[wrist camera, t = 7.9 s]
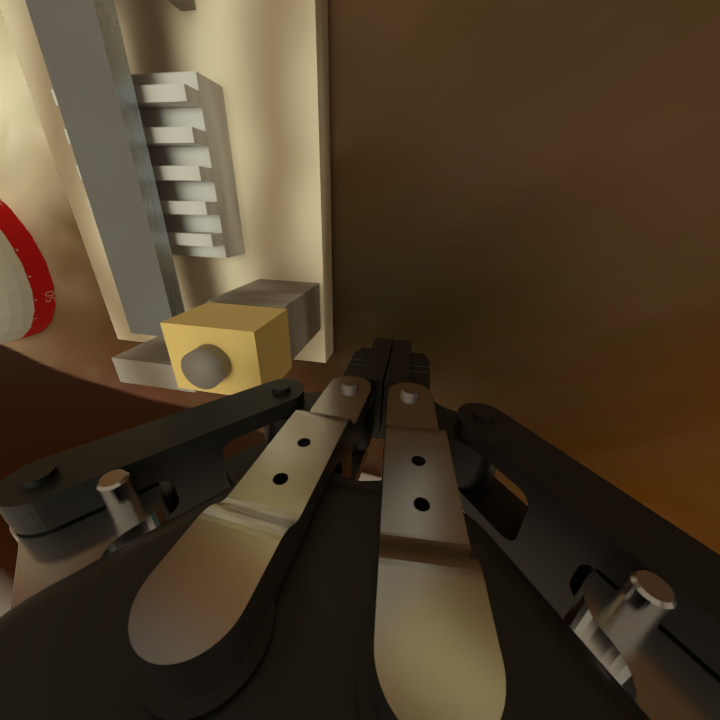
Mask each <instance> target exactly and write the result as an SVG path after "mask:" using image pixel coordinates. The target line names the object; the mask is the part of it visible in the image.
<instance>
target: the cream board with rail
mask: <svg viewBox="0 0 720 720" xmlns="http://www.w3.org/2000/svg"><path fill="white" fill-rule="evenodd" d="M114 2H115V7H116V11H117V15H118V20H119V24H120V29H121V33H122V37H123V42H124V46H125V50H126V55H127V59H128V64H129V68H130V72H131V77H132V81H133V85H134V90H135V94H136V99H137V103H138V107H139V112H140V116H141V120H142V125H143V129H144V134H145V138H146V142H147V147H148V151H149V156H150V160H151V164H152V169H153V173H154V177H155V182H156V186H157V191H158V195H159V199H160V204H161V208H162V212H163V217H164V221H165V226H166V230H167V234H168V239H169V243H170V248H171V252H172V256H173V261H174V265H175V269H176V274H177V278H178V283H179V287H180V291H181V296H182V300H183V304H184V309H185V312H186V311H188V310H191V309H193V308H196V307H198V306H200V305H203V304H205V303H207V302H213V303H224V304H236V305H247V306H259V307H271V308H282V309H287V316H288V327H289V339H290V351H291V362H292V360H293V359H296V360H305V361H313V362H322V363H326V362H327V360H328V359H329V357H330V356H331V354H332V353H333V293H332V231H331V169H330V108H329V46H328V0H114ZM0 9H1V11H2V14H3V17H4V20H5V23H6V25H7V28H8V31H9V34H10V37H11V39H12V42H13V45H14V48H15V51H16V54H17V56H18V59H19V62H20V65H21V68H22V70H23V73H24V76H25V79H26V82H27V84H28V87H29V90H30V93H31V96H32V98H33V101H34V104H35V107H36V110H37V113H38V115H39V118H40V121H41V124H42V127H43V129H44V132H45V135H46V138H47V141H48V143H49V146H50V149H51V152H52V155H53V157H54V160H55V163H56V166H57V169H58V171H59V174H60V177H61V180H62V183H63V186H64V188H65V191H66V194H67V197H68V200H69V202H70V205H71V208H72V211H73V214H74V216H75V219H76V222H77V225H78V228H79V230H80V233H81V236H82V239H83V242H84V245H85V247H86V250H87V253H88V256H89V259H90V261H91V264H92V267H93V270H94V273H95V275H96V278H97V281H98V284H99V287H100V289H101V292H102V295H103V298H104V301H105V304H106V306H107V309H108V312H109V315H110V318H111V320H112V323H113V326H114V329H115V332H116V334H117V337H118V339H121V340H130V341H139V342H144V343H142V344H140V345H138V346H136V347H133V348H131V349H129V350H127V351H125V352H123V353H121V354H118V355H116V356H114V357H112V360H113V363H114V365H115V368H116V371H117V373H118V376H119V379H120V381H121V382H125V383H133V384H140V385H147V386H154V387H161V388H168V389H175V390H182V391H189V392H197V390H190V389H183V388H178V385H177V381H176V378H175V374H174V371H173V367H172V364H171V360H170V356H169V353H168V349H167V346H166V342H165V339H164V337H161V336H152V335H143V334H134V333H131V332H130V329H129V325H128V322H127V319H126V316H125V313H124V310H123V307H122V303H121V300H120V297H119V294H118V291H117V288H116V285H115V281H114V278H113V275H112V272H111V269H110V266H109V262H108V259H107V256H106V253H105V250H104V247H103V244H102V240H101V237H100V234H99V231H98V228H97V225H96V222H95V218H94V215H93V212H92V209H91V206H90V203H89V200H88V196H87V193H86V190H85V187H84V184H83V181H82V178H81V174H80V171H79V168H78V165H77V162H76V159H75V155H74V152H73V149H72V146H71V143H70V140H69V137H68V133H67V130H66V127H65V124H64V121H63V118H62V115H61V111H60V108H59V105H58V102H57V99H56V96H55V93H54V89H53V86H52V83H51V80H50V77H49V74H48V70H47V67H46V64H45V61H44V58H43V55H42V52H41V48H40V45H39V42H38V39H37V36H36V33H35V30H34V26H33V23H32V20H31V17H30V14H29V11H28V8H27V4H26V1H25V0H0Z"/></svg>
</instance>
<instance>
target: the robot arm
mask: <svg viewBox="0 0 720 720" xmlns="http://www.w3.org/2000/svg"><path fill="white" fill-rule="evenodd" d="M411 346H412V341H403V340H394V344H393V339H382V338H376V339H375V341H374V344H373V346H372V349H370V348H361V349H359V350H358V351H356V352H355V353H354V355H353V357H352V359H351V361H350V363H349V365H348V367H347V369H346V371H345V373H344V375H343V376H342V377H338V378H336V379H334V380H332V381H331V382H330V383H329V385H328V386H327V387H326V389H325V390H324V391H323V392H314V393H304V387H303V385H302V384H301V383H300V382H298V381H296V380H292V379H278V380H273V381H270V382H267V383H264V384H261V385H258V386H255V387H252V388H249V389H247V390H244V391H241V392H238V393H235V394H232V395H229V396H226V397H223V398H220V399H217V400H214V401H211V402H208V403H205V404H202V405H199V406H196V407H193V408H190V409H187V410H185V411H182V412H179V413H176V414H173V415H170V416H167V417H164V418H161V419H158V420H155V421H152V422H149V423H146V424H143V425H140V426H138V427H134V428H131V429H128V430H125V431H122V432H119V433H117V434H114V435H111V436H108V437H105V438H102V439H99V440H96V441H93V442H90V443H87V444H84V445H81V446H78V447H75V448H72V449H69V450H66V451H63V452H60V453H58V454H55V455H51V456H49V457H46V458H43V459H40V460H37V461H34V462H32V463H30V464H28V465H26V466H24V467H22V468H20V469H18V470H16V471H15V472H13V473H12V474H10V475H9V476H7V477H6V478H5V479H4V480H2V481H1V482H0V514H1V515H2V516H3V518H4V519H5V521H6V522H7V523H8V524H9V526H10V532H11V533H12V535H13V536H14V538H15V539H16V540H17V542H18V543H19V547H18V555H17V564H16V573H15V581H14V588H13V597H12V605H11V610H10V611H8V612H7V613H5V614H4V615H3V616H1V617H0V720H720V555H719V554H717V553H716V552H714V551H713V550H711V549H709V548H708V547H706V546H705V545H703V544H702V543H700V542H699V541H697V540H696V539H694V538H693V537H691V536H690V535H688V534H687V533H685V532H684V531H682V530H681V529H679V528H678V527H676V526H675V525H673V524H671V523H670V522H668V521H667V520H665V519H664V518H662V517H661V516H659V515H658V514H656V513H655V512H653V511H652V510H650V509H649V508H647V507H646V506H644V505H643V504H641V503H640V502H638V501H636V500H635V499H633V498H632V497H630V496H629V495H627V494H626V493H624V492H623V491H621V490H620V489H618V488H617V487H615V486H614V485H612V484H611V483H609V482H608V481H606V480H605V479H603V478H601V477H600V476H598V475H597V474H595V473H594V472H592V471H591V470H589V469H588V468H586V467H585V466H583V465H582V464H580V463H579V462H577V461H576V460H574V459H573V458H571V457H570V456H568V455H566V454H565V453H563V452H562V451H560V450H559V449H557V448H556V447H554V446H553V445H551V444H550V443H548V442H547V441H545V440H544V439H542V438H541V437H539V436H538V435H536V434H535V433H533V432H531V431H530V430H528V429H527V428H525V427H524V426H522V425H521V424H519V423H518V422H516V421H515V420H513V419H512V418H510V417H509V416H507V415H506V414H504V413H503V412H501V411H499V410H498V409H496V408H494V407H491V406H489V405H485V404H480V403H468V404H465V405H462V406H461V407H460V408H459V409H458V412H455V411H452V410H449V409H447V408H444V407H442V406H440V405H439V404H437V403H436V402H435V401H434V400H433V395H432V393H431V391H430V374H429V359H428V358H427V357H426V356H425V355H424V354H418V353H411ZM262 427H264V432H265V439H266V440H265V441H263V442H261V443H259V444H257V445H255V446H252V447H250V448H248V449H246V450H244V451H241V452H239V453H237V454H235V455H233V456H230V457H228V458H226V459H223V454H222V453H223V449H224V447H225V446H226V445H227V444H228V443H229V442H230V441H232V440H234V439H236V438H238V437H241V436H243V435H245V434H248V433H250V432H252V431H255V430H257V429H259V428H262ZM380 429H381V438H380V439H384V451H383V464H382V479H381V481H359V478H360V475H361V472H362V469H363V467H364V464H365V461H366V458H367V455H368V446H369V444H370V441H371V437H373V438H379V434H380ZM496 468H497V469H498V470H499V471H500V472H501V473H503V474H504V475H505V476H506V477H507V478H508V479H510V480H511V481H512V482H513V483H514V484H515V485H517V486H518V487H519V488H520V489H521V490H522V491H523V493H524V494H525V496H526V498H527V501H528V506H527V505H525V504H524V503H523V502H522V501H521V500H520V499H519V498H518V497H516V496H515V495H514V494H513V493H512V492H511V491H510V490H508V489H507V488H506V487H505V486H504V485H503V484H502V483H501V482H499V481H498V480H497V479H496V478H495V477H494V475H495V471H496ZM463 511H464V512H465V513H464V512H463Z"/></svg>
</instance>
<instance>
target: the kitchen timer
mask: <svg viewBox="0 0 720 720" xmlns="http://www.w3.org/2000/svg"><path fill="white" fill-rule="evenodd" d="M54 309H55V296H54V285H53V282H52V279H51V276H50V273H49V270H48V267H47V265H46V262H45V259H44V258H43V256H42V254H41V252H40V250H39V249H38V247H37V245H36V243H35V242H34V240H33V238H32V236H31V234H30V233H29V232H28V231H27V229H26V228H25V227H24V225H23V224H22V223H21V222H20V220H19V219H18V218H17V217H16V215H15V214H14V213H13V212H12V210H11V209H10V208H9V207H8V206H7V205H6V204H5V203H4V202H2V201H1V200H0V344H4V343H8V342H12V341H15V340H18V339H21V338H24V337H27V336H30V335H33V334H36V333H39V332H42V331H43V330H44V329H45V328H46V327H47V326H48V325H49V323H50V322H51V321H52V317H53V313H54Z"/></svg>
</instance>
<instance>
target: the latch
mask: <svg viewBox="0 0 720 720" xmlns="http://www.w3.org/2000/svg"><path fill="white" fill-rule="evenodd" d="M160 325H161V328H162V332H163V335H164V339H165V342H166V346H167V349H168V353H169V356H170V360H171V364H172V367H173V371H174V374H175V378H176V381H177V385H178V388H183V389H190V390H197V391H205V392H212V393H219V394H226V395H232V394H235V393H238V392H241V391H244V390H247V389H249V388H252V387H255V386H258V385H261V384H264V383H267V382H270V381H273V380H278V379H282V378H283V377H284V375H285V374H286V373H287V372H288V371H289V370H290V369H291V367H292V363H291V351H290V339H289V327H288V316H287V309H282V308H271V307H259V306H247V305H236V304H224V303H213V302H207V303H205V304H203V305H200V306H198V307H196V308H193V309H191V310H188V311H186V312H184V313H181V314H179V315H177V316H174V317H172V318H169V319H167V320H165V321H162V322H160Z"/></svg>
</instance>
